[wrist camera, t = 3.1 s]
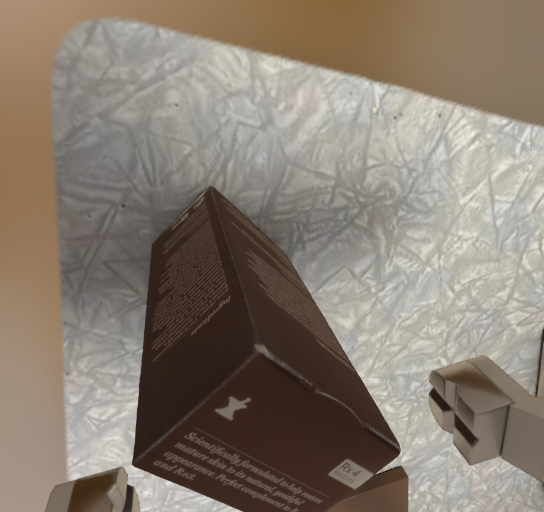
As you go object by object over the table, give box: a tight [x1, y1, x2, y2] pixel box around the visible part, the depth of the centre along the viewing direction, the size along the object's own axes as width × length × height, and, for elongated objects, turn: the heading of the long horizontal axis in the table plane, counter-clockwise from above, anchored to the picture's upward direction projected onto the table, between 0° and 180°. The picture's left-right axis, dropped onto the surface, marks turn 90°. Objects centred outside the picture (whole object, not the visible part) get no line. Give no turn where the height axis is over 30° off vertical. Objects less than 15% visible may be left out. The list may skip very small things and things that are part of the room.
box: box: [132, 187, 401, 512], centre depth 15 cm, size 6×4×12 cm
